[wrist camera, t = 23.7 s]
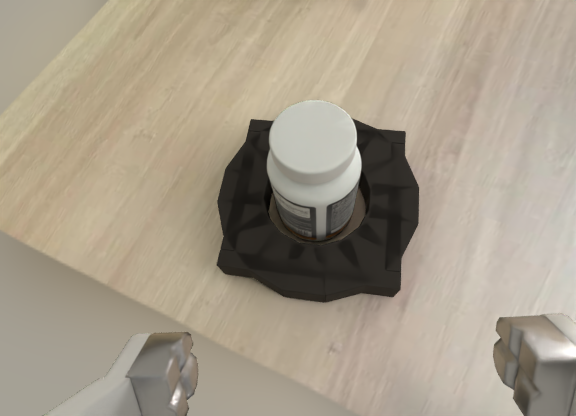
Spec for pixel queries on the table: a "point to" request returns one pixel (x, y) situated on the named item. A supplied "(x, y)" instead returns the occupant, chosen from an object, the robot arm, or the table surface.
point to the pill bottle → (314, 168)
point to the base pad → (329, 257)
